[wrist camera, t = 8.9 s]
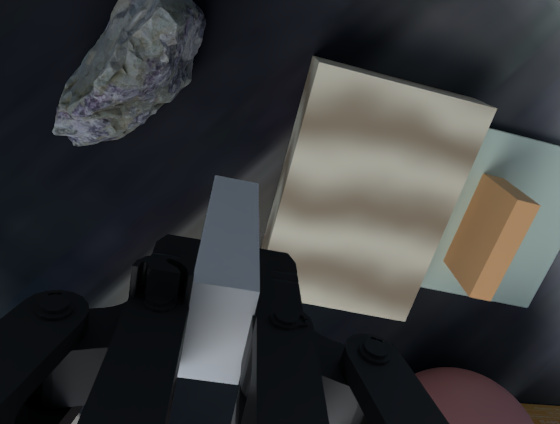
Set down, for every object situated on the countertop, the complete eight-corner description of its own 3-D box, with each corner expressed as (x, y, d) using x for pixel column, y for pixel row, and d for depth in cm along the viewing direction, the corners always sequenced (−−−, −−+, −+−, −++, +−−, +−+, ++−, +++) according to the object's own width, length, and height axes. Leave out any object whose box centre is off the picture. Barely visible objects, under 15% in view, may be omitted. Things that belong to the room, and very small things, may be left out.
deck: (312, 55, 38) (319, 61, 34) (474, 98, 40) (497, 108, 36) (255, 270, 46) (255, 294, 42) (393, 296, 48) (405, 321, 44)
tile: (517, 199, 37) (540, 205, 37) (483, 173, 42) (503, 178, 42) (469, 297, 40) (490, 301, 40) (443, 260, 45) (462, 264, 46)
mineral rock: (86, 144, 40) (36, 188, 31) (20, 9, 36) (-60, 15, 26) (234, 98, 39) (228, 130, 30) (185, -46, 35) (161, -61, 26)
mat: (470, 122, 41) (473, 124, 40) (604, 157, 43) (609, 159, 42) (405, 280, 47) (406, 284, 46) (524, 304, 49) (527, 308, 48)
